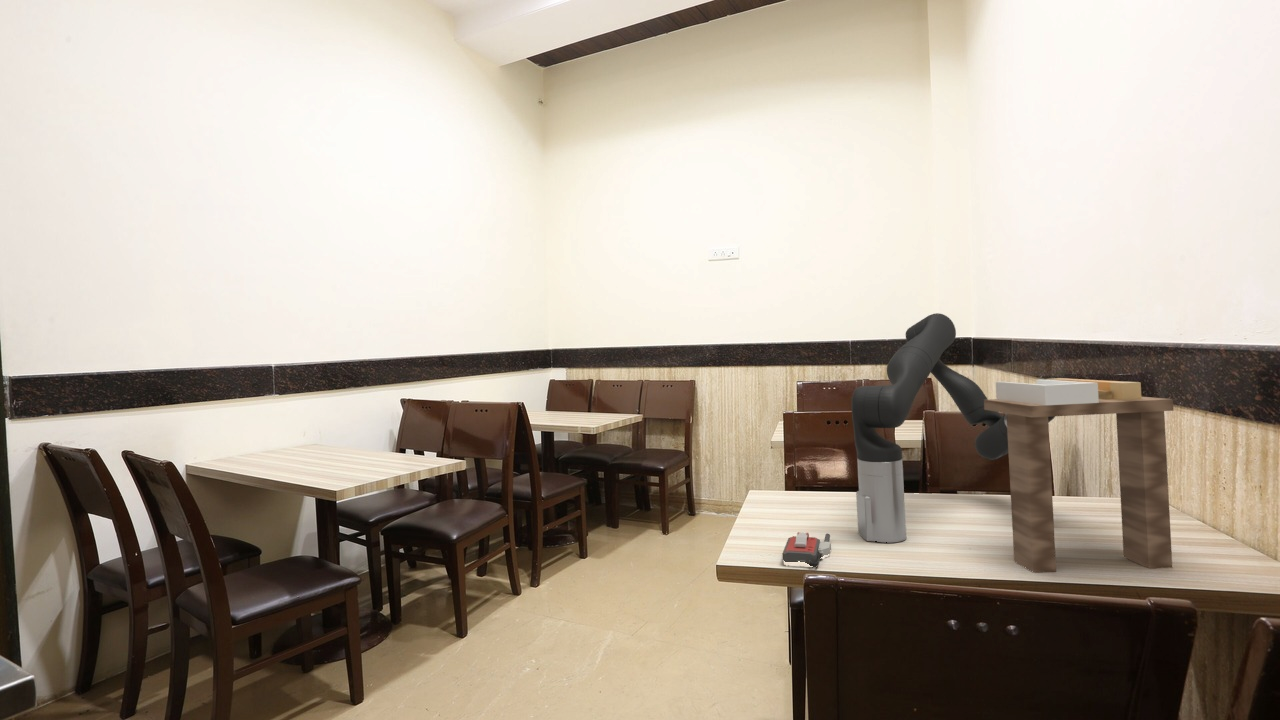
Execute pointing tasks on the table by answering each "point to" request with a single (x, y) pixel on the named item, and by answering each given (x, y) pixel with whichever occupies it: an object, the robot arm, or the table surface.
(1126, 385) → the tan wooden bar
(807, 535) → the walkie-talkie
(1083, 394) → the tray
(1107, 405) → the shelf
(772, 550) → the table surface
